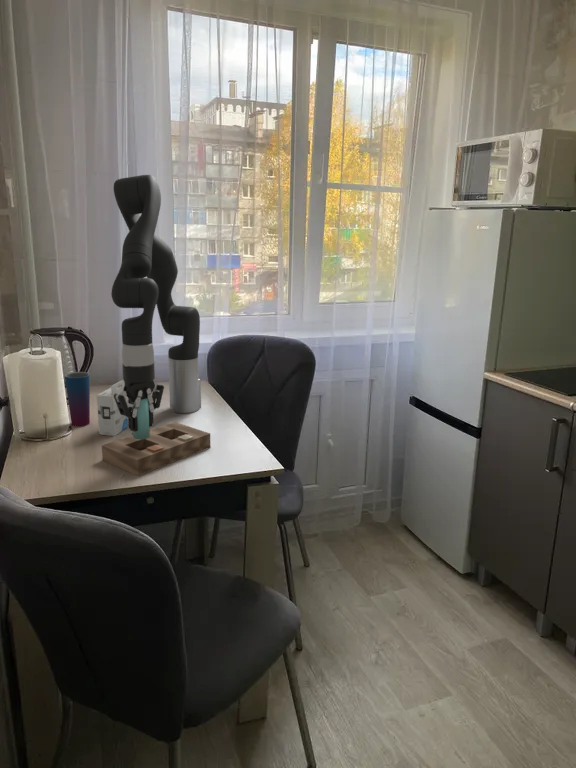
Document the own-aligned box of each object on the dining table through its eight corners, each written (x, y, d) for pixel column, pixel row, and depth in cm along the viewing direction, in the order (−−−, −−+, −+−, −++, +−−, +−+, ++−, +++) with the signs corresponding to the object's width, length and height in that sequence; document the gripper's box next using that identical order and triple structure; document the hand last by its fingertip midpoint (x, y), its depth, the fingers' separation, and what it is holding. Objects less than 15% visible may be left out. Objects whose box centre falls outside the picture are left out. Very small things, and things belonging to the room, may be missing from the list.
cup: (70, 428, 166) (66, 378, 162) (66, 421, 172) (63, 373, 168) (94, 425, 169) (91, 376, 165) (90, 418, 175) (87, 371, 171)
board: (175, 435, 163) (175, 420, 162) (210, 447, 155) (210, 431, 154) (102, 460, 145) (101, 443, 144) (138, 475, 137) (137, 457, 136)
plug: (142, 432, 147) (141, 395, 145) (153, 436, 145) (151, 398, 142) (129, 436, 144) (128, 398, 142) (140, 440, 142) (138, 401, 139)
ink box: (113, 425, 170) (110, 376, 166) (128, 426, 169) (126, 378, 166) (98, 434, 162) (95, 384, 158) (114, 436, 161) (111, 385, 157)
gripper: (151, 354, 147) (153, 418, 152) (103, 363, 136) (107, 432, 141) (171, 359, 143) (173, 424, 147) (123, 369, 132) (127, 439, 136)
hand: (141, 428), depth 144 cm, fingers closed on plug, 4 cm apart
